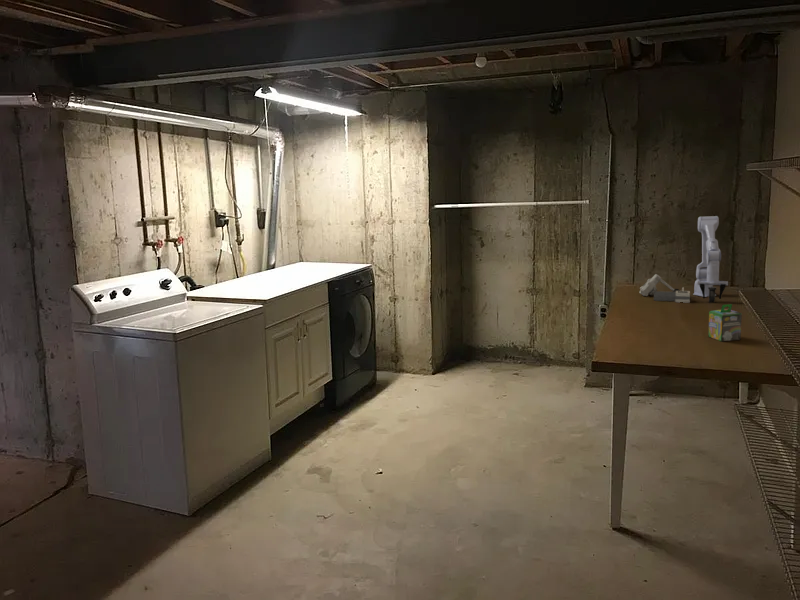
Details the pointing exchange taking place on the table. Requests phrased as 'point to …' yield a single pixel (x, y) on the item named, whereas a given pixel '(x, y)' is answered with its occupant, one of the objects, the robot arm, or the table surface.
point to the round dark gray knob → (712, 294)
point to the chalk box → (725, 324)
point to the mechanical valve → (653, 286)
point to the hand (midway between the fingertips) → (711, 298)
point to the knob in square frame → (672, 296)
